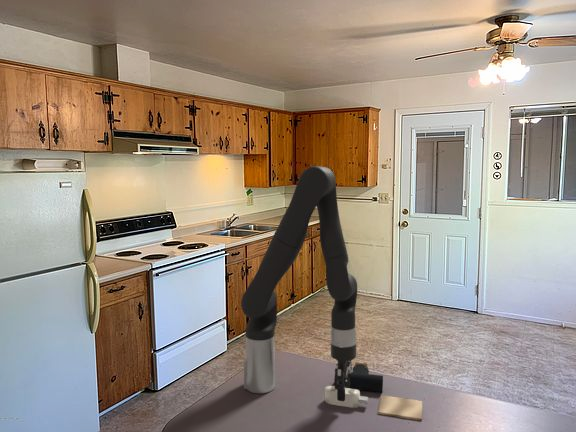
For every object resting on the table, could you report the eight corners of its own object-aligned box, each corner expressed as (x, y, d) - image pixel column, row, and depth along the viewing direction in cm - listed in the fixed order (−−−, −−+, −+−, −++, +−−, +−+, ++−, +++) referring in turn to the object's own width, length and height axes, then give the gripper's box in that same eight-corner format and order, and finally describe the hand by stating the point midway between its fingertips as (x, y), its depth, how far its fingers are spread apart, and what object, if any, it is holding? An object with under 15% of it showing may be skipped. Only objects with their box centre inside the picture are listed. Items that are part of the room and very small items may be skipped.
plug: (323, 403, 135) (323, 390, 134) (326, 397, 138) (326, 385, 138) (366, 409, 131) (367, 396, 130) (368, 403, 134) (368, 391, 134)
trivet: (378, 413, 129) (378, 411, 128) (381, 397, 138) (381, 395, 138) (421, 420, 125) (421, 418, 125) (422, 402, 134) (422, 401, 134)
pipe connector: (339, 358, 154) (383, 363, 150) (339, 373, 155) (383, 378, 151) (334, 374, 143) (382, 379, 139) (334, 390, 143) (382, 395, 140)
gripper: (335, 331, 140) (336, 381, 142) (325, 349, 127) (326, 403, 129) (359, 333, 138) (359, 384, 140) (352, 351, 125) (352, 407, 126)
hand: (343, 393), depth 134 cm, fingers open, 8 cm apart
